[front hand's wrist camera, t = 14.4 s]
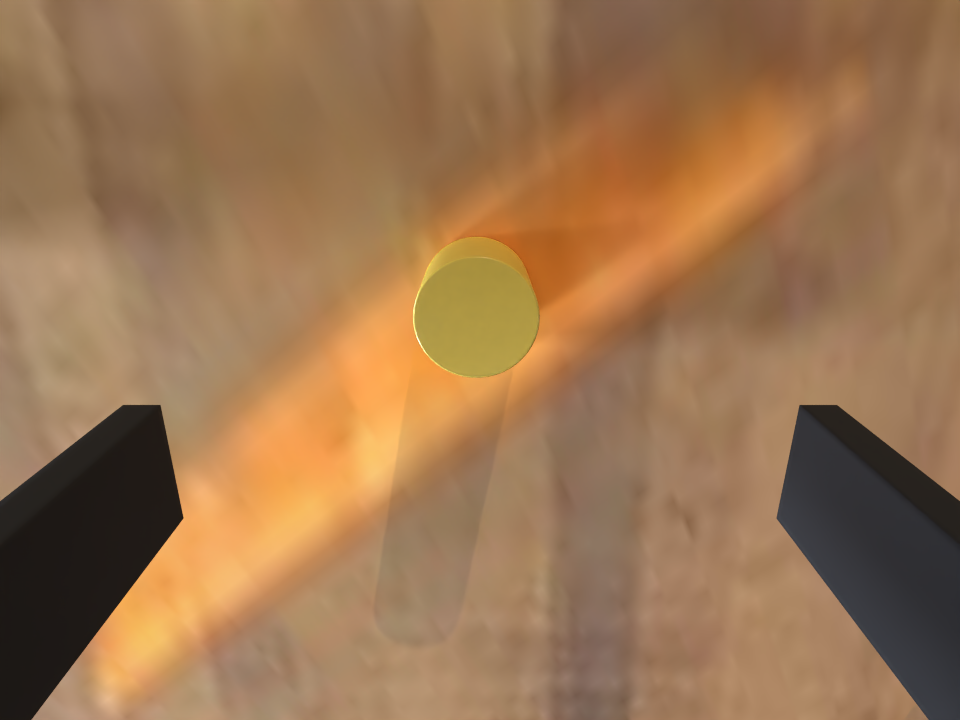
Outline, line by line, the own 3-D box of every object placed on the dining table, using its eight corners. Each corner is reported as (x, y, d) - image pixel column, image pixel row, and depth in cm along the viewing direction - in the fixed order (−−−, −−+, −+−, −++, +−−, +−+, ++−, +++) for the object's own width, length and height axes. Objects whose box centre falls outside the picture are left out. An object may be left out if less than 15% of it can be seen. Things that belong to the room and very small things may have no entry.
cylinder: (471, 360, 30) (470, 401, 25) (401, 284, 28) (386, 313, 24) (551, 295, 28) (565, 325, 24) (482, 213, 27) (482, 228, 23)
